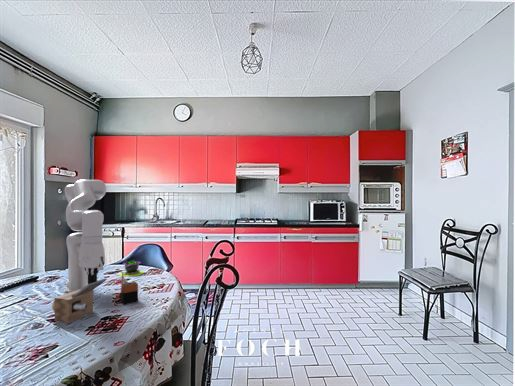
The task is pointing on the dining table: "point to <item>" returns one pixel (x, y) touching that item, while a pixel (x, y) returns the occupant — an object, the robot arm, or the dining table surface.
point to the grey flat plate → (89, 288)
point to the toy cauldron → (132, 269)
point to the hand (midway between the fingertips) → (92, 283)
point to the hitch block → (65, 306)
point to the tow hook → (121, 286)
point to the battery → (129, 292)
